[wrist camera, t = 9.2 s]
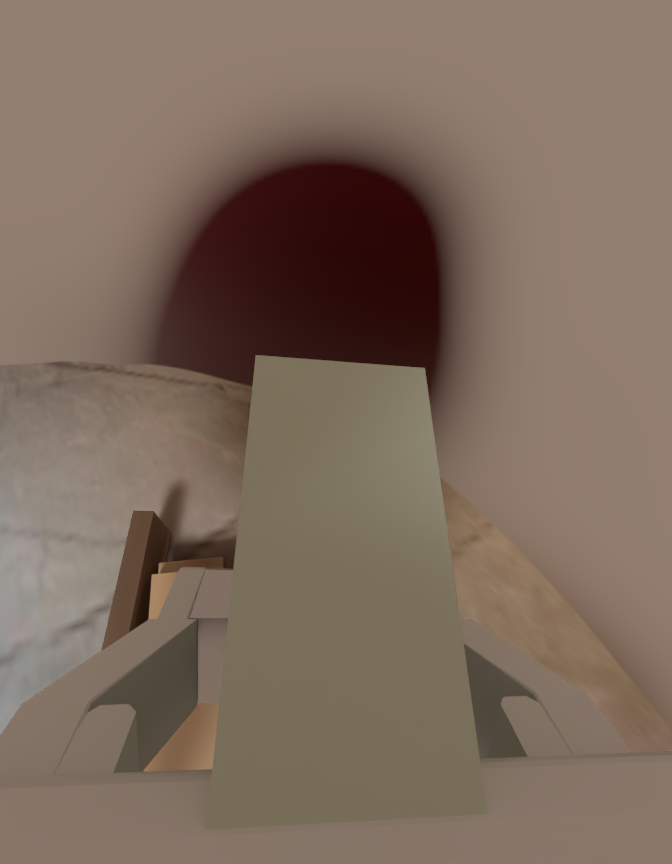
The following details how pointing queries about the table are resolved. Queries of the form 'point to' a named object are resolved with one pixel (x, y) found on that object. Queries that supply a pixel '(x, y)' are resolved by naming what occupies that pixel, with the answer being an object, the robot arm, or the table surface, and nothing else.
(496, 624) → the table surface
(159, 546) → the walnut rack
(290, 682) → the tall panel
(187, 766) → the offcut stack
